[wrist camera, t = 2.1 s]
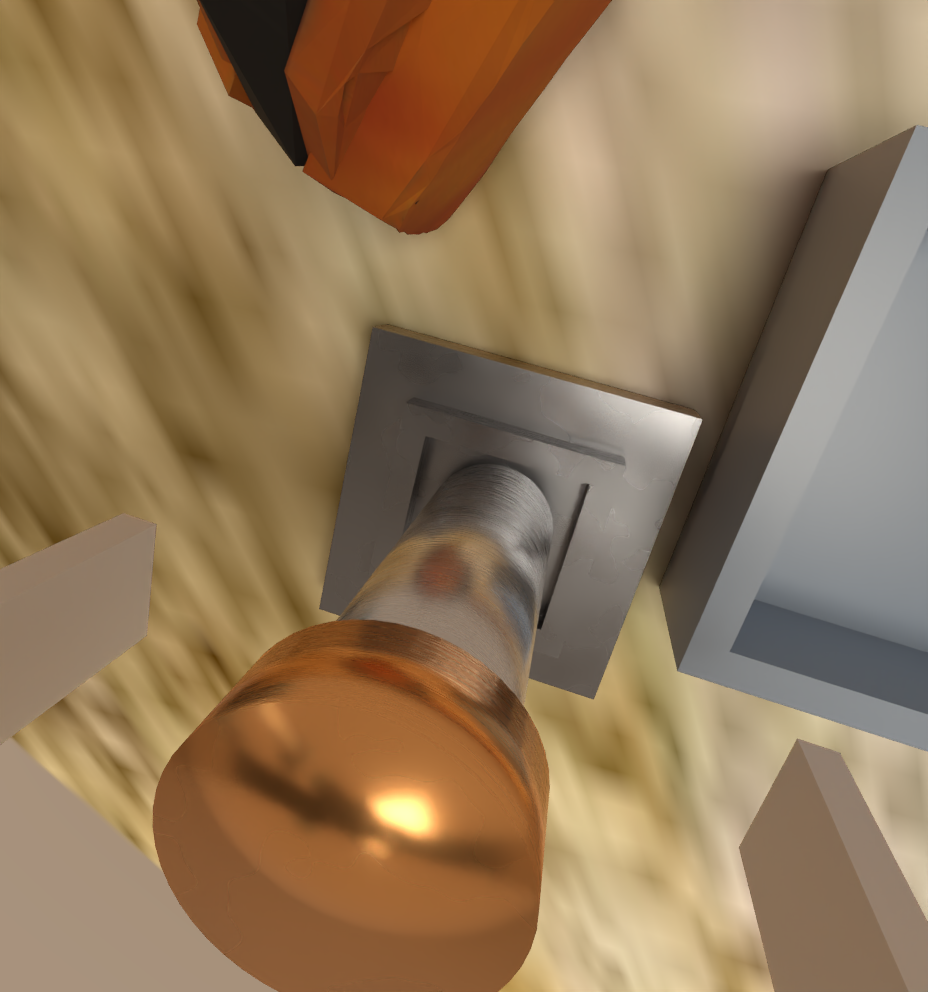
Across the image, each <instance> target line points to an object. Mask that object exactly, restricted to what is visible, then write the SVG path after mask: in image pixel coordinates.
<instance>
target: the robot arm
mask: <svg viewBox="0 0 928 992" xmlns="http://www.w3.org/2000/svg"><path fill="white" fill-rule="evenodd" d="M155 534H156V524H154V523H151V522H148V521H146V520H143V519H140V518H137V517H134V516H131V515H128V514H125V513H123V514H120V515H118V516H116V517H114V518H112V519H109V520H107V521H105V522H103V523H101V524H98V525H96V526H94V527H92V528H90V529H87V530H85V531H83V532H81V533H79V534H76V535H74V536H72V537H70V538H68V539H65V540H63V541H61V542H59V543H57V544H54V545H52V546H50V547H48V548H46V549H43V550H41V551H39V552H37V553H35V554H32V555H30V556H28V557H26V558H24V559H21V560H19V561H17V562H15V563H13V564H10V565H8V566H6V567H4V568H2V569H0V745H1V744H2V743H4V742H5V741H6V740H8V739H9V738H10V737H12V736H13V735H14V734H16V733H17V732H18V731H20V730H21V729H22V728H24V727H25V726H26V725H28V724H29V723H30V722H32V721H33V720H34V719H36V718H37V717H38V716H40V715H41V714H42V713H44V712H45V711H46V710H48V709H49V708H50V707H52V706H53V705H54V704H56V703H57V702H58V701H60V700H61V699H62V698H64V697H65V696H66V695H68V694H69V693H71V692H72V691H73V690H75V689H76V688H77V687H79V686H80V685H81V684H83V683H84V682H85V681H87V680H88V679H89V678H91V677H92V676H93V675H95V674H96V673H97V672H99V671H100V670H101V669H103V668H104V667H105V666H107V665H108V664H109V663H111V662H112V661H113V660H115V659H116V658H117V657H119V656H120V655H121V654H123V653H124V652H125V651H127V650H128V649H129V648H131V647H132V646H133V645H135V644H136V643H138V642H139V641H140V640H142V639H143V638H144V637H146V636H147V628H148V616H149V605H150V593H151V581H152V569H153V558H154V546H155ZM739 849H740V854H741V858H742V862H743V866H744V870H745V874H746V878H747V882H748V886H749V890H750V894H751V898H752V902H753V906H754V910H755V914H756V918H757V922H758V926H759V930H760V934H761V939H762V943H763V947H764V951H765V955H766V959H767V963H768V967H769V971H770V975H771V979H772V983H773V987H774V991H775V992H928V922H927V920H926V918H925V916H924V914H923V912H922V910H921V908H920V906H919V904H918V902H917V900H916V898H915V897H914V895H913V893H912V891H911V889H910V887H909V885H908V883H907V881H906V879H905V877H904V875H903V873H902V871H901V870H900V868H899V866H898V864H897V862H896V860H895V858H894V856H893V854H892V852H891V850H890V848H889V846H888V844H887V843H886V841H885V839H884V837H883V835H882V833H881V831H880V829H879V827H878V825H877V823H876V821H875V819H874V817H873V816H872V814H871V812H870V810H869V808H868V806H867V804H866V802H865V800H864V798H863V796H862V794H861V792H860V791H859V789H858V787H857V785H856V783H855V781H854V779H853V777H852V775H851V773H850V771H849V769H848V767H847V765H846V764H845V762H844V760H843V758H842V756H841V754H840V753H839V752H836V751H833V750H830V749H827V748H824V747H821V746H818V745H815V744H812V743H809V742H806V741H803V740H800V739H797V740H796V742H795V744H794V746H793V748H792V750H791V752H790V753H789V755H788V757H787V759H786V761H785V763H784V765H783V766H782V768H781V770H780V772H779V774H778V776H777V778H776V779H775V781H774V783H773V785H772V787H771V789H770V791H769V792H768V794H767V796H766V798H765V800H764V802H763V804H762V805H761V807H760V809H759V811H758V813H757V815H756V817H755V818H754V820H753V822H752V824H751V826H750V828H749V830H748V831H747V833H746V835H745V837H744V839H743V841H742V843H741V844H740V846H739Z"/></svg>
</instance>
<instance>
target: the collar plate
mask: <svg viewBox="0 0 928 992" xmlns="http://www.w3.org/2000/svg"><path fill="white" fill-rule="evenodd" d="M702 420H703V419H702V418H701V417H700V416H699V414H698V413H697V412H696V411H695V410H693V409H690V408H686V407H683V406H679V405H675V404H672V403H668V402H665V401H661V400H657V399H654V398H650V397H647V396H643V395H640V394H636V393H632V392H629V391H625V390H622V389H618V388H614V387H611V386H607V385H604V384H600V383H597V382H593V381H589V380H586V379H582V378H579V377H575V376H571V375H568V374H564V373H561V372H557V371H554V370H550V369H546V368H543V367H539V366H536V365H532V364H528V363H525V362H521V361H518V360H514V359H511V358H507V357H503V356H500V355H496V354H493V353H489V352H485V351H482V350H478V349H475V348H471V347H468V346H464V345H460V344H457V343H453V342H450V341H446V340H442V339H439V338H435V337H432V336H428V335H424V334H421V333H417V332H414V331H410V330H407V329H403V328H399V327H396V326H392V325H389V324H387V325H381V326H376V327H373V329H372V334H371V339H370V345H369V350H368V355H367V361H366V366H365V371H364V376H363V382H362V387H361V392H360V397H359V403H358V408H357V413H356V418H355V424H354V429H353V434H352V440H351V445H350V450H349V455H348V461H347V466H346V471H345V476H344V482H343V487H342V492H341V498H340V503H339V508H338V513H337V519H336V524H335V529H334V534H333V540H332V545H331V550H330V555H329V561H328V566H327V571H326V577H325V582H324V587H323V592H322V598H321V603H320V608H319V609H321V610H324V611H327V612H330V613H333V614H336V615H339V616H340V615H341V614H342V613H343V612H344V610H345V609H346V608H347V606H348V605H349V604H350V602H351V601H352V600H353V599H354V597H355V596H356V595H357V593H358V592H359V591H360V590H361V588H362V587H363V586H364V584H365V583H366V582H367V581H368V579H369V578H370V577H371V575H372V574H373V573H374V571H375V570H376V569H377V568H378V566H379V565H380V564H381V562H382V561H383V560H384V559H385V557H386V556H387V555H388V553H389V552H390V551H391V549H392V548H393V547H394V546H395V544H396V543H397V542H398V540H399V539H400V538H401V537H402V535H403V534H404V533H405V531H406V530H407V529H408V527H409V526H410V525H411V524H412V522H413V521H414V520H415V518H416V517H417V516H418V515H419V513H420V512H421V511H422V509H423V508H424V507H425V505H426V504H427V503H428V502H429V500H430V499H431V498H432V496H433V495H434V494H435V493H436V491H437V490H438V489H439V487H440V486H441V485H442V484H443V483H444V482H445V481H446V480H447V479H448V478H449V477H450V476H451V475H453V474H455V473H456V472H458V471H460V470H462V469H464V468H467V467H470V466H474V465H480V464H495V465H501V466H505V467H508V468H511V469H514V470H516V471H518V472H520V473H522V474H523V475H525V476H526V477H528V478H529V479H530V480H531V481H532V482H534V483H535V484H536V485H537V487H538V488H539V489H540V490H541V492H542V493H543V495H544V496H545V498H546V500H547V502H548V504H549V507H550V510H551V513H552V519H553V533H552V540H551V546H550V552H549V558H548V564H547V570H546V576H545V582H544V588H543V594H542V600H541V606H540V612H539V618H538V624H537V630H536V636H535V642H534V648H533V654H532V660H531V666H530V672H529V678H530V679H533V680H536V681H539V682H542V683H545V684H548V685H551V686H554V687H558V688H561V689H564V690H567V691H570V692H573V693H576V694H579V695H582V696H585V697H588V698H591V699H594V697H595V695H596V692H597V690H598V687H599V684H600V682H601V679H602V677H603V674H604V672H605V669H606V666H607V664H608V661H609V659H610V656H611V654H612V651H613V648H614V646H615V643H616V641H617V638H618V636H619V633H620V630H621V628H622V625H623V623H624V620H625V618H626V615H627V612H628V610H629V607H630V605H631V602H632V600H633V597H634V595H635V592H636V589H637V587H638V584H639V582H640V579H641V577H642V574H643V571H644V569H645V566H646V564H647V561H648V559H649V556H650V553H651V551H652V548H653V546H654V543H655V541H656V538H657V535H658V533H659V530H660V528H661V525H662V523H663V520H664V517H665V515H666V512H667V510H668V507H669V505H670V502H671V500H672V497H673V494H674V492H675V489H676V487H677V484H678V482H679V479H680V476H681V474H682V471H683V469H684V466H685V464H686V461H687V458H688V456H689V453H690V451H691V448H692V446H693V443H694V440H695V438H696V435H697V433H698V430H699V428H700V425H701V422H702Z"/></svg>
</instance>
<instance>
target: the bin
mask: <svg viewBox="0 0 928 992" xmlns="http://www.w3.org/2000/svg"><path fill="white" fill-rule="evenodd" d="M659 589H660V594H661V598H662V603H663V607H664V612H665V617H666V621H667V626H668V630H669V635H670V639H671V644H672V649H673V653H674V658H675V662H676V667H677V671H679V672H682V673H685V674H688V675H691V676H694V677H697V678H700V679H704V680H707V681H710V682H713V683H716V684H719V685H722V686H725V687H728V688H732V689H735V690H738V691H741V692H744V693H747V694H750V695H753V696H756V697H760V698H763V699H766V700H769V701H772V702H775V703H778V704H781V705H784V706H788V707H791V708H794V709H797V710H800V711H803V712H806V713H809V714H812V715H816V716H819V717H822V718H825V719H828V720H831V721H834V722H837V723H840V724H844V725H847V726H850V727H853V728H856V729H859V730H862V731H865V732H868V733H872V734H875V735H878V736H881V737H884V738H887V739H890V740H893V741H896V742H900V743H903V744H906V745H909V746H912V747H915V748H918V749H921V750H924V751H928V127H924V126H919V125H916V126H914V127H912V128H910V129H908V130H906V131H904V132H902V133H900V134H898V135H896V136H894V137H892V138H890V139H888V140H886V141H884V142H882V143H880V144H878V145H876V146H874V147H872V148H870V149H868V150H866V151H864V152H862V153H860V154H858V155H856V156H854V157H852V158H850V159H848V160H846V161H844V162H842V163H840V164H838V165H836V166H834V167H832V168H830V169H828V171H827V173H826V176H825V178H824V180H823V183H822V185H821V188H820V190H819V193H818V195H817V198H816V200H815V203H814V205H813V208H812V210H811V213H810V215H809V218H808V220H807V223H806V225H805V228H804V230H803V233H802V235H801V237H800V240H799V242H798V245H797V247H796V250H795V252H794V255H793V257H792V260H791V262H790V265H789V267H788V270H787V272H786V275H785V277H784V280H783V282H782V285H781V287H780V290H779V292H778V294H777V297H776V299H775V302H774V304H773V307H772V309H771V312H770V314H769V317H768V319H767V322H766V324H765V327H764V329H763V332H762V334H761V337H760V339H759V342H758V344H757V347H756V349H755V351H754V354H753V356H752V359H751V361H750V364H749V366H748V369H747V371H746V374H745V376H744V379H743V381H742V384H741V386H740V389H739V391H738V394H737V396H736V399H735V401H734V404H733V406H732V409H731V411H730V413H729V416H728V418H727V421H726V423H725V426H724V428H723V431H722V433H721V436H720V438H719V441H718V443H717V446H716V448H715V451H714V453H713V456H712V458H711V461H710V463H709V466H708V468H707V470H706V473H705V475H704V478H703V480H702V483H701V485H700V488H699V490H698V493H697V495H696V498H695V500H694V503H693V505H692V508H691V510H690V513H689V515H688V518H687V520H686V523H685V525H684V527H683V530H682V532H681V535H680V537H679V540H678V542H677V545H676V547H675V550H674V552H673V555H672V557H671V560H670V562H669V565H668V567H667V570H666V572H665V575H664V577H663V580H662V582H661V584H660V587H659Z"/></svg>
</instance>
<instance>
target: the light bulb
mask: <svg viewBox="0 0 928 992" xmlns="http://www.w3.org/2000/svg"><path fill="white" fill-rule="evenodd" d="M552 533H553V519H552V513H551V510H550V507H549V504H548V502H547V500H546V498H545V496H544V495H543V493H542V492H541V490H540V489H539V488H538V487H537V485H536V484H535V483H534V482H532V481H531V480H530V479H529V478H528V477H526V476H525V475H523V474H522V473H520V472H518V471H516V470H514V469H511V468H508V467H505V466H501V465H495V464H480V465H474V466H470V467H467V468H464V469H462V470H460V471H458V472H456V473H455V474H453V475H451V476H450V477H449V478H448V479H447V480H446V481H445V482H444V483H443V484H442V485H441V486H440V487H439V489H438V490H437V491H436V493H435V494H434V495H433V496H432V498H431V499H430V500H429V502H428V503H427V504H426V505H425V507H424V508H423V509H422V511H421V512H420V513H419V515H418V516H417V517H416V518H415V520H414V521H413V522H412V524H411V525H410V526H409V527H408V529H407V530H406V531H405V533H404V534H403V535H402V537H401V538H400V539H399V540H398V542H397V543H396V544H395V546H394V547H393V548H392V549H391V551H390V552H389V553H388V555H387V556H386V557H385V559H384V560H383V561H382V562H381V564H380V565H379V566H378V568H377V569H376V570H375V571H374V573H373V574H372V575H371V577H370V578H369V579H368V581H367V582H366V583H365V584H364V586H363V587H362V588H361V590H360V591H359V592H358V593H357V595H356V596H355V597H354V599H353V600H352V601H351V602H350V604H349V605H348V606H347V608H346V609H345V610H344V612H343V613H342V614H341V615H340V617H339V618H338V619H337V621H332V622H327V623H323V624H319V625H315V626H311V627H308V628H306V629H303V630H301V631H298V632H296V633H293V634H292V635H290V636H288V637H286V638H285V639H283V640H281V641H280V642H278V643H276V644H275V645H274V646H273V647H272V648H270V649H269V650H268V651H267V652H265V653H264V654H263V655H262V656H261V657H260V658H259V660H258V661H257V662H256V663H255V664H254V665H253V666H252V667H251V668H250V670H249V671H248V672H247V673H246V674H245V675H244V676H243V677H242V678H241V679H240V681H239V682H238V683H237V684H236V685H235V686H234V687H233V688H232V689H231V691H230V692H229V693H228V694H227V695H226V696H225V697H224V698H223V699H222V701H221V702H220V703H219V704H218V705H217V706H216V707H215V708H214V709H213V711H212V712H211V713H210V714H209V715H208V716H207V717H206V718H205V719H204V721H203V722H202V723H201V724H200V725H199V726H198V727H197V728H196V729H195V730H194V732H193V733H192V734H191V735H190V736H189V737H188V738H187V739H186V740H185V742H184V743H183V744H182V745H181V746H180V747H179V748H178V750H177V751H176V752H175V753H174V754H173V755H172V757H171V759H170V760H169V762H168V764H167V765H166V767H165V769H164V771H163V773H162V775H161V778H160V781H159V783H158V786H157V789H156V794H155V800H154V805H153V832H154V840H155V847H156V850H157V854H158V857H159V861H160V864H161V867H162V870H163V872H164V874H165V877H166V879H167V881H168V884H169V886H170V888H171V889H172V891H173V893H174V895H175V896H176V898H177V900H178V902H179V904H180V905H181V906H182V908H183V909H184V910H185V912H186V913H187V915H188V916H189V918H190V919H191V920H192V922H193V923H194V924H195V925H196V926H197V927H198V929H199V930H200V931H201V932H202V933H203V934H204V935H205V937H206V938H207V939H208V940H209V941H210V942H211V943H212V944H214V945H215V947H217V948H218V949H219V950H220V951H221V952H222V953H223V954H224V955H225V956H226V957H228V958H229V959H230V960H231V961H233V962H234V963H235V964H236V965H238V966H239V967H240V968H241V969H243V970H244V971H246V972H247V973H249V974H250V975H252V976H253V977H255V978H256V979H258V980H259V981H261V982H262V983H264V984H266V985H268V986H269V987H271V988H273V989H275V990H277V991H278V992H498V991H499V990H500V989H501V988H502V987H504V986H505V985H506V984H507V983H508V982H509V981H510V980H511V979H512V978H513V976H514V975H515V974H516V973H517V971H518V970H519V969H520V968H521V966H522V964H523V963H524V961H525V959H526V957H527V955H528V953H529V951H530V949H531V946H532V943H533V940H534V937H535V934H536V930H537V922H538V914H539V903H540V892H541V881H542V869H543V858H544V847H545V835H546V824H547V812H548V801H549V790H550V785H549V768H548V763H547V759H546V754H545V750H544V747H543V744H542V741H541V739H540V736H539V733H538V731H537V729H536V727H535V725H534V723H533V721H532V719H531V717H530V716H529V714H528V712H527V711H526V709H525V708H524V702H525V696H526V690H527V684H528V678H529V672H530V666H531V660H532V654H533V648H534V642H535V636H536V630H537V624H538V618H539V612H540V606H541V600H542V594H543V588H544V582H545V576H546V570H547V564H548V558H549V552H550V546H551V540H552Z"/></svg>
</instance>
